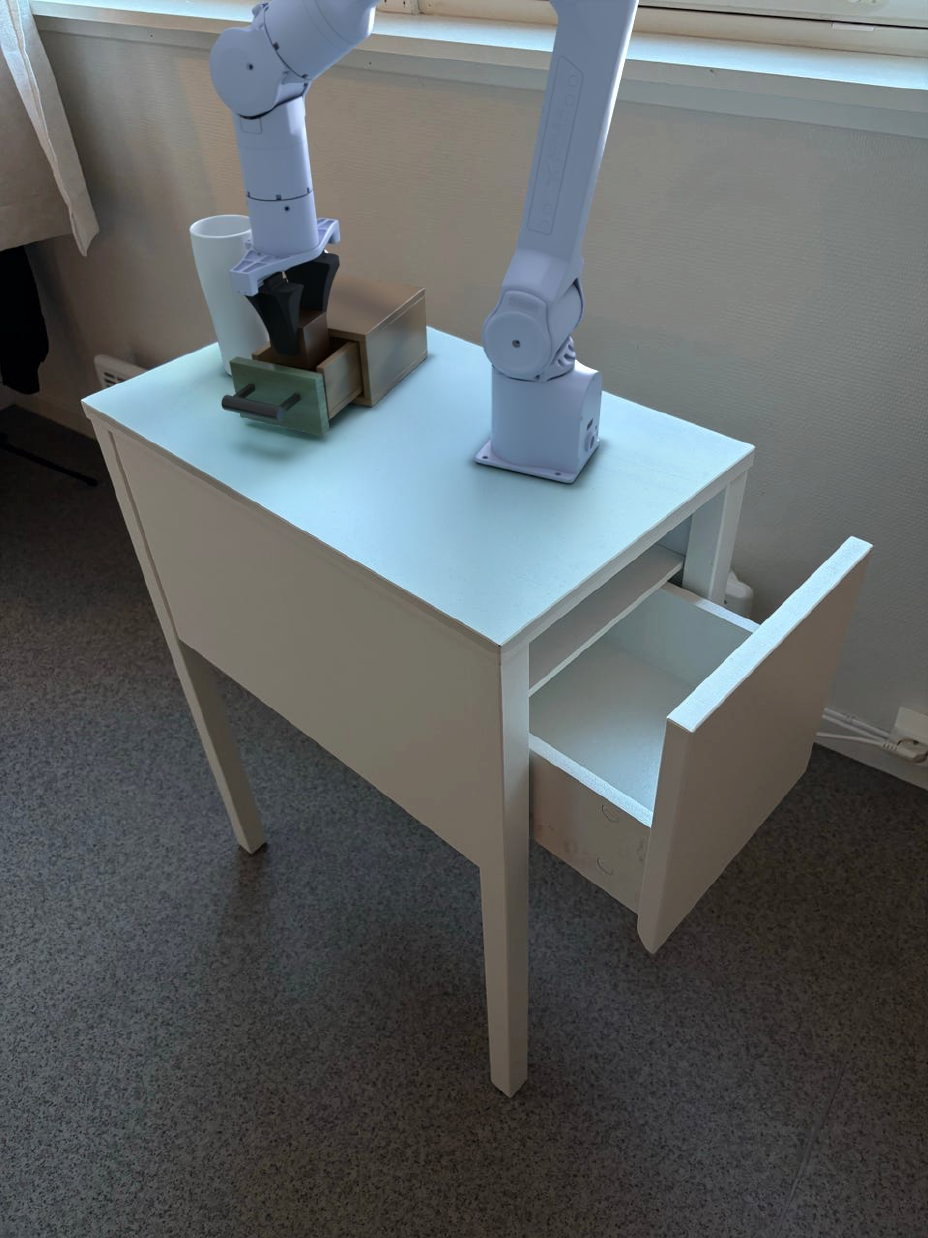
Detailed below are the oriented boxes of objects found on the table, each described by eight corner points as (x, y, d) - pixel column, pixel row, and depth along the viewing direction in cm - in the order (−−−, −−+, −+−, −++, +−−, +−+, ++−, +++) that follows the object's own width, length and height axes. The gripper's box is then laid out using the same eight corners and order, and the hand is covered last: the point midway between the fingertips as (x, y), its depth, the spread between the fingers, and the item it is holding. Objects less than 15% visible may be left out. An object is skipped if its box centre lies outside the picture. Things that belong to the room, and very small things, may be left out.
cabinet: (372, 407, 92) (365, 334, 87) (282, 388, 95) (271, 317, 90) (428, 356, 100) (425, 287, 95) (344, 340, 104) (337, 273, 99)
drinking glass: (206, 368, 99) (175, 224, 89) (260, 349, 102) (235, 209, 92) (239, 390, 95) (210, 242, 85) (294, 369, 98) (272, 225, 89)
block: (330, 352, 88) (326, 311, 86) (308, 369, 86) (303, 328, 83) (295, 345, 90) (290, 305, 87) (272, 361, 87) (266, 321, 84)
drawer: (298, 458, 83) (289, 399, 79) (213, 437, 86) (201, 380, 82) (381, 383, 94) (377, 329, 90) (303, 367, 97) (296, 314, 93)
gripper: (286, 163, 84) (305, 308, 93) (187, 210, 74) (220, 367, 83) (353, 171, 82) (366, 318, 91) (260, 221, 72) (285, 381, 81)
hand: (300, 343), depth 87 cm, fingers closed on block, 4 cm apart
